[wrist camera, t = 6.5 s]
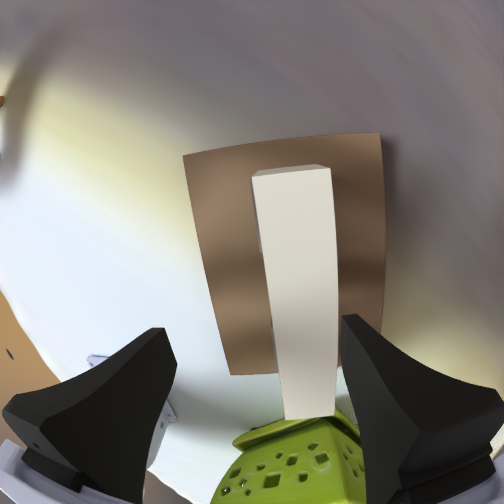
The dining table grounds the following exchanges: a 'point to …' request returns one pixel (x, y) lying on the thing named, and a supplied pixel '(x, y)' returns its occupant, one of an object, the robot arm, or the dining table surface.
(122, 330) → the dining table surface
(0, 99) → the lion figurine
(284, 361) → the cream bar
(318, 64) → the dining table surface
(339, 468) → the flower pot
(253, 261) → the brown rectangular board
